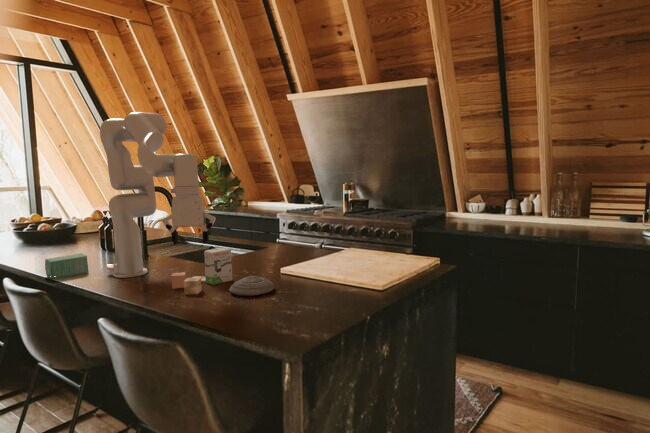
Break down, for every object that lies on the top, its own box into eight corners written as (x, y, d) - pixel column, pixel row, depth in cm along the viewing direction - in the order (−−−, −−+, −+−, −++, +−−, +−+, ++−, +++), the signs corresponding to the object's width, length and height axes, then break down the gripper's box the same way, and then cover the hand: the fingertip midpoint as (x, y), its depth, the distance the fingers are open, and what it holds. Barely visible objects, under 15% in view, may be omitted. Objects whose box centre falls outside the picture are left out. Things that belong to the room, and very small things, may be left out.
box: (45, 277, 183) (44, 258, 182) (82, 270, 193) (81, 252, 192) (51, 280, 178) (49, 261, 177) (89, 273, 188) (87, 255, 187)
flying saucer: (235, 286, 164) (234, 271, 163) (277, 285, 163) (277, 270, 163) (224, 299, 149) (223, 282, 148) (271, 298, 148) (270, 281, 148)
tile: (188, 282, 170) (188, 280, 170) (193, 278, 176) (193, 276, 176) (205, 281, 170) (205, 280, 170) (209, 277, 176) (209, 276, 176)
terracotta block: (172, 288, 162) (171, 276, 161) (172, 285, 166) (171, 273, 166) (185, 287, 163) (185, 275, 163) (186, 284, 167) (185, 272, 167)
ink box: (212, 285, 165) (210, 252, 164) (205, 282, 168) (203, 250, 167) (233, 280, 171) (231, 248, 170) (225, 278, 175) (223, 247, 173)
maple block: (184, 294, 155) (183, 281, 154) (188, 290, 159) (187, 277, 159) (198, 294, 155) (197, 281, 154) (201, 290, 159) (200, 277, 159)
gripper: (156, 193, 149) (160, 246, 151) (211, 191, 149) (214, 244, 151) (164, 192, 156) (168, 242, 158) (216, 190, 156) (219, 240, 158)
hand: (190, 243), depth 155 cm, fingers open, 9 cm apart
